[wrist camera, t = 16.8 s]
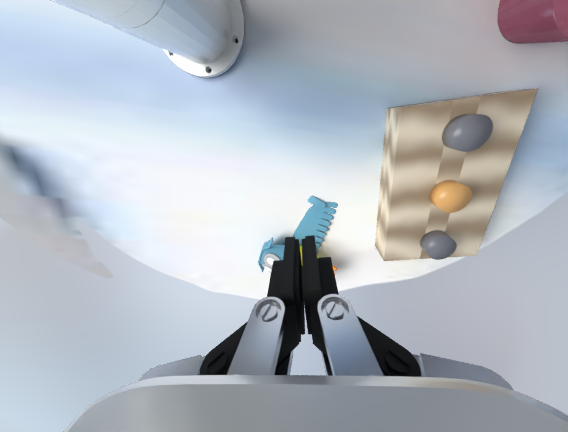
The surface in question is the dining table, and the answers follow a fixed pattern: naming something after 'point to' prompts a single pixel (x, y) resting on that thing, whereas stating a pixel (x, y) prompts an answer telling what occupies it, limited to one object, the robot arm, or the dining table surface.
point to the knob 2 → (467, 132)
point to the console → (444, 171)
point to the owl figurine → (301, 232)
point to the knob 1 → (438, 244)
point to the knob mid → (450, 196)
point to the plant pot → (533, 20)
